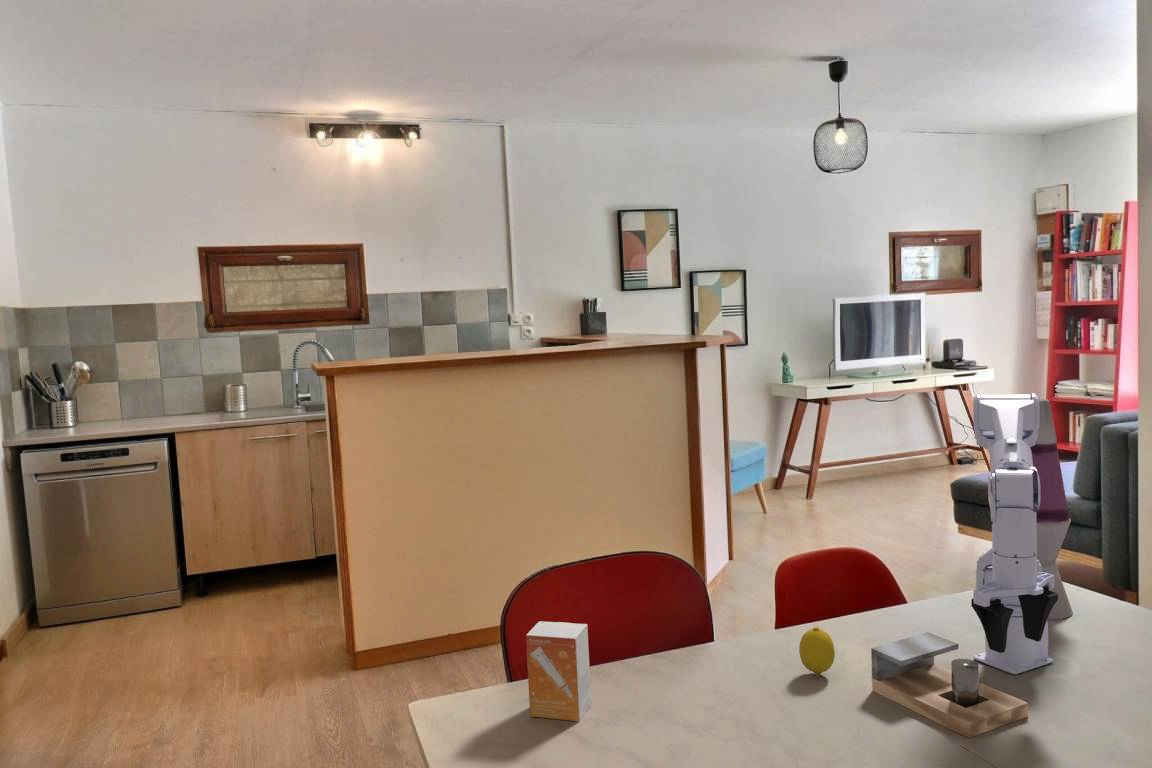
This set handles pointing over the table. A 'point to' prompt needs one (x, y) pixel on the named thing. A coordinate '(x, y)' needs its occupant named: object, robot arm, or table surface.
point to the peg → (965, 682)
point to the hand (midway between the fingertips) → (1015, 644)
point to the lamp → (1050, 507)
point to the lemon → (817, 650)
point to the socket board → (937, 686)
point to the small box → (558, 670)
